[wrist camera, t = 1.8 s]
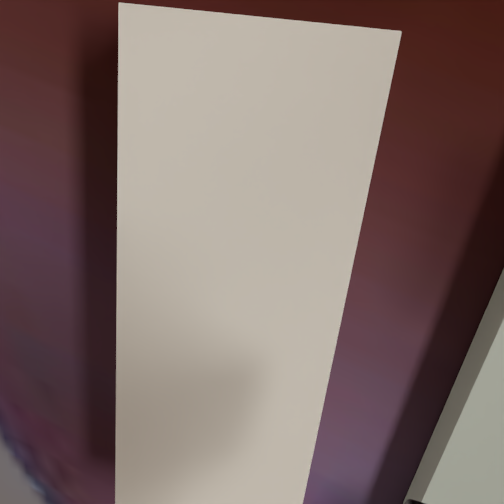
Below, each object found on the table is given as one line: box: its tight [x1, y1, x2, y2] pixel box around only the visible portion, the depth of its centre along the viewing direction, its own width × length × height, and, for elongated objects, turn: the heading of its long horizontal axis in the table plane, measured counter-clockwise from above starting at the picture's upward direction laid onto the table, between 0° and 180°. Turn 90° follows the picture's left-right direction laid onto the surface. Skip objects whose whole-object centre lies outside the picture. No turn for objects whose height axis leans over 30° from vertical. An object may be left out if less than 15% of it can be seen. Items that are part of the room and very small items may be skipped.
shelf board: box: [115, 3, 402, 504], centre depth 14 cm, size 16×6×3 cm, turn 173°
